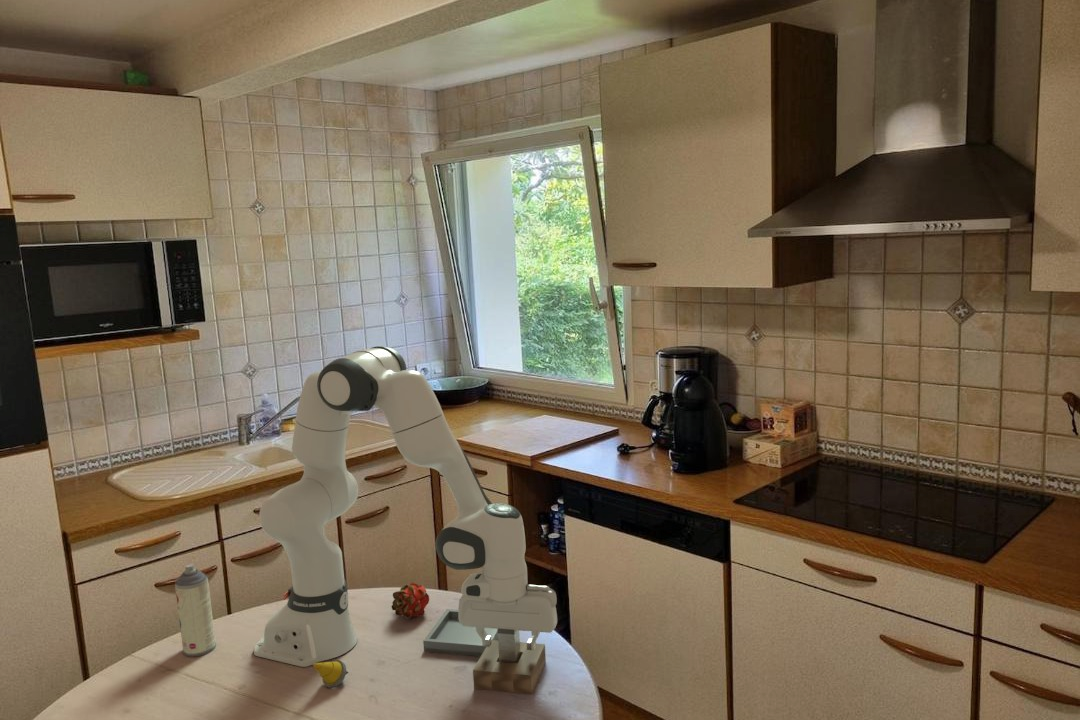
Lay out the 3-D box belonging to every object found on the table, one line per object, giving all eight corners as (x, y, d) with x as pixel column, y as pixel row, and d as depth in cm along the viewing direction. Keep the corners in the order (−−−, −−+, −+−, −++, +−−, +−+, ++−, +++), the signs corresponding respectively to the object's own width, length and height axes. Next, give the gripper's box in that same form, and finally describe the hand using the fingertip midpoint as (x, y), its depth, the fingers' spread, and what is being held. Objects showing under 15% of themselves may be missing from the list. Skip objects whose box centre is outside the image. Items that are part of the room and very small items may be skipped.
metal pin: (500, 678, 162) (497, 628, 161) (505, 669, 166) (502, 620, 164) (516, 680, 161) (514, 629, 160) (521, 671, 165) (518, 621, 163)
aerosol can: (190, 642, 183) (180, 560, 180) (220, 640, 183) (210, 558, 180) (178, 657, 176) (167, 572, 173) (209, 656, 177) (198, 571, 173)
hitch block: (474, 688, 159) (472, 670, 159) (491, 657, 171) (490, 639, 170) (532, 694, 156) (531, 675, 156) (545, 661, 168) (544, 644, 167)
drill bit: (354, 686, 163) (322, 672, 156) (333, 695, 164) (301, 681, 157) (355, 661, 166) (323, 646, 160) (334, 669, 168) (302, 655, 161)
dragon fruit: (400, 634, 186) (416, 617, 198) (428, 613, 185) (442, 597, 196) (379, 604, 186) (396, 589, 198) (406, 583, 185) (422, 569, 197)
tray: (424, 651, 174) (423, 640, 174) (447, 618, 189) (446, 608, 188) (489, 656, 171) (488, 646, 170) (508, 623, 185) (507, 613, 185)
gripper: (559, 579, 161) (562, 643, 163) (463, 574, 166) (467, 635, 168) (552, 593, 155) (555, 659, 157) (453, 587, 160) (457, 651, 162)
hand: (509, 647), depth 163 cm, fingers open, 8 cm apart
